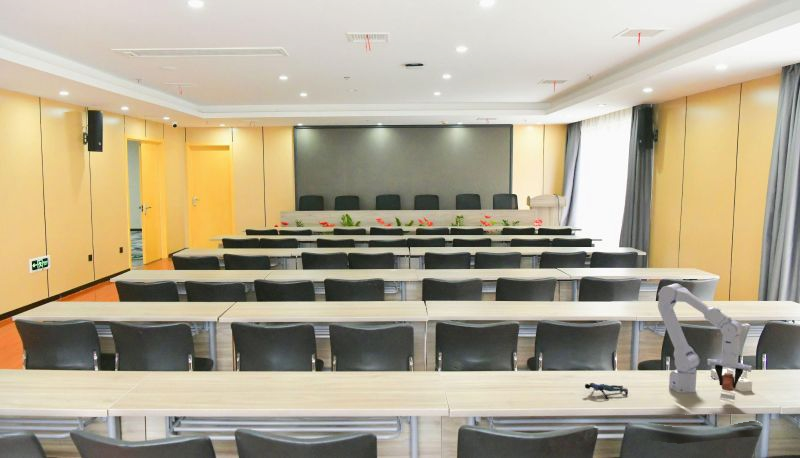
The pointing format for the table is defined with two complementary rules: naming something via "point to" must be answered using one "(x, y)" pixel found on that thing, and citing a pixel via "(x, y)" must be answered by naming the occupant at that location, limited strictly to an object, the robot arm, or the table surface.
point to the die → (743, 384)
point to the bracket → (714, 373)
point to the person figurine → (606, 388)
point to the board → (727, 396)
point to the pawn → (728, 382)
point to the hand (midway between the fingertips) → (727, 385)
